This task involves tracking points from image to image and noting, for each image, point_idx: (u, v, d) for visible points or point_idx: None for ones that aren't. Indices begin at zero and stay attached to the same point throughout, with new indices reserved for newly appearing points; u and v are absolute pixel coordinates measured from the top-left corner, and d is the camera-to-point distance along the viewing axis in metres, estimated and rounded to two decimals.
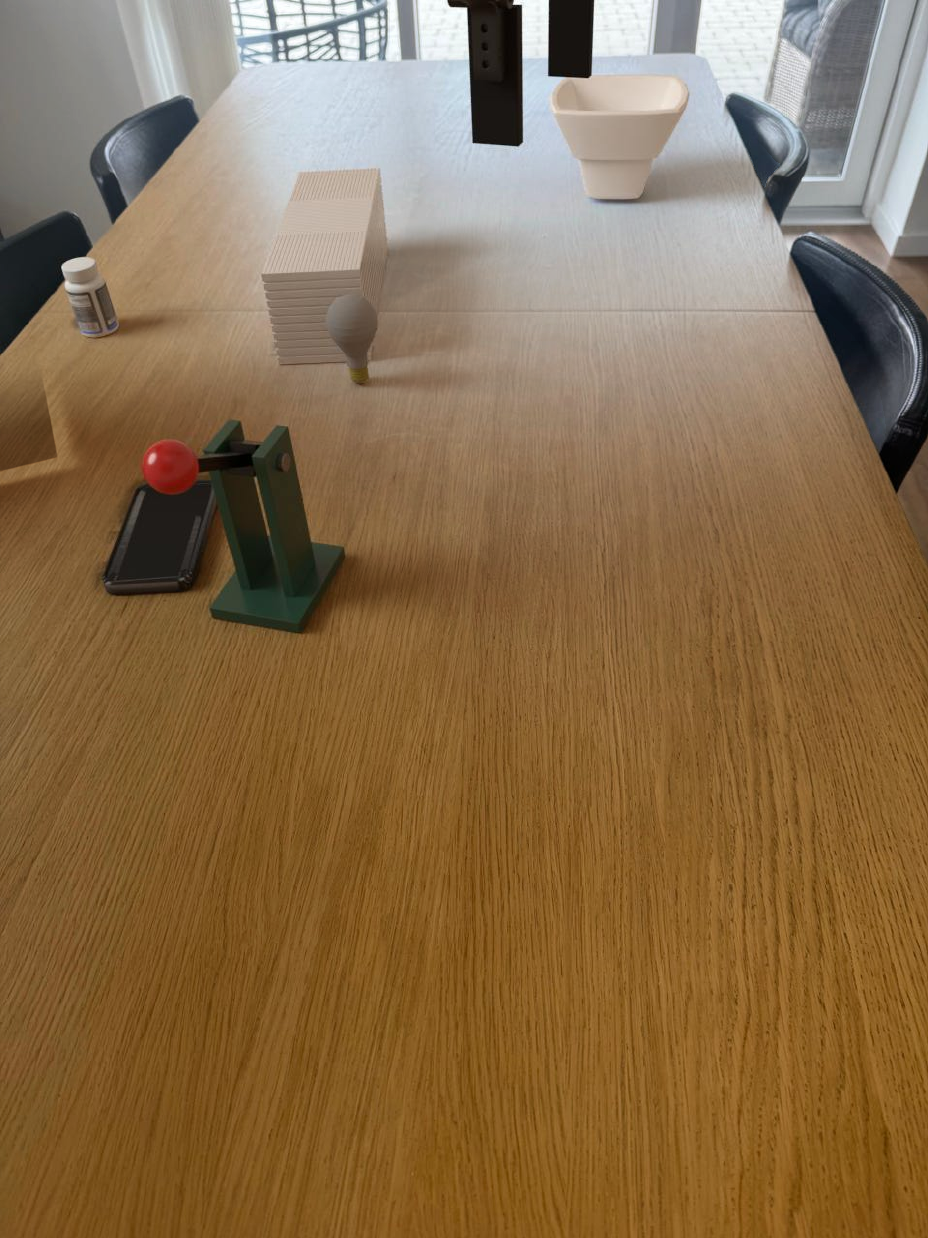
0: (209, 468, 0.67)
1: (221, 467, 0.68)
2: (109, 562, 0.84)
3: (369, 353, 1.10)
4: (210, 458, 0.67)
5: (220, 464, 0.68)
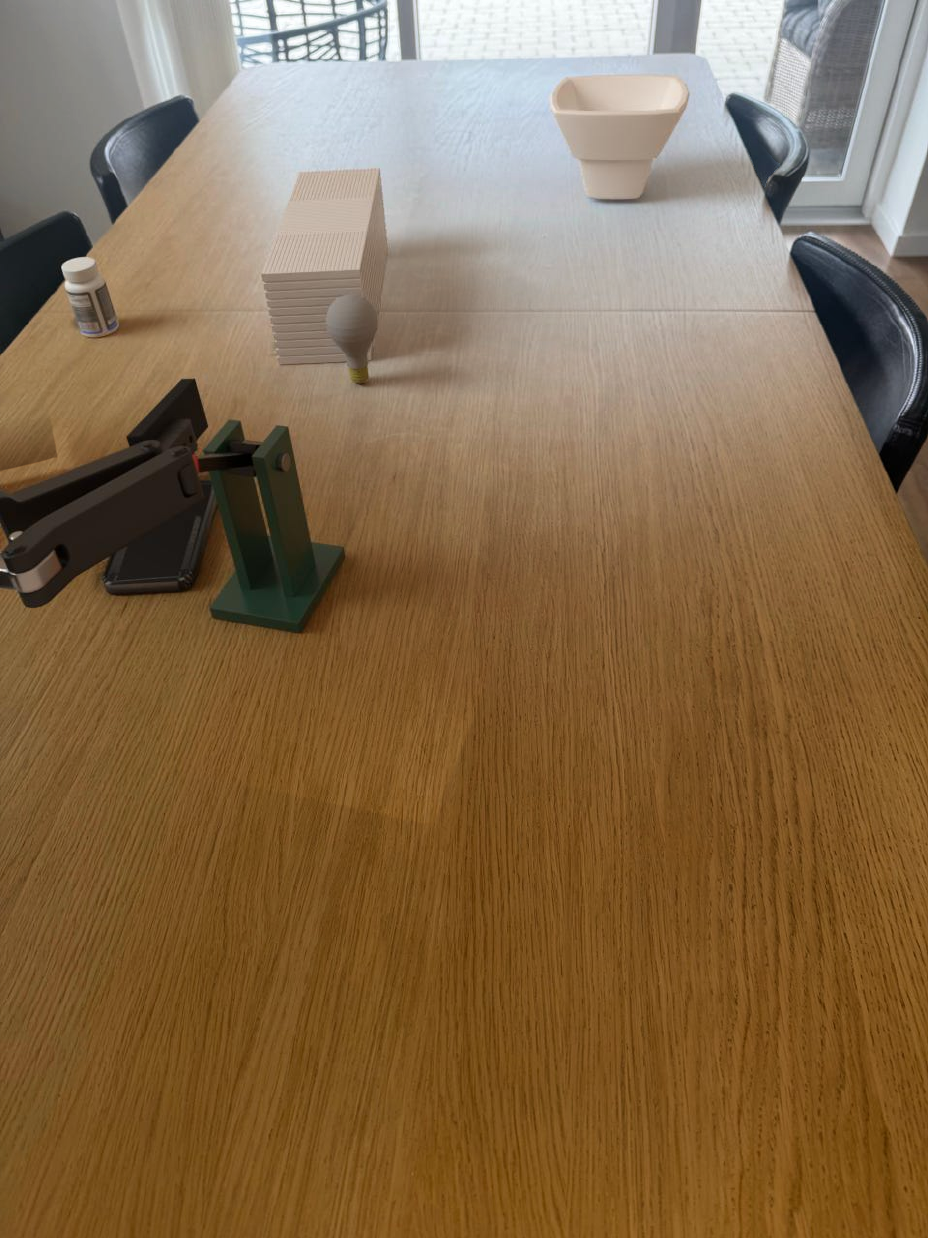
0: (209, 468, 0.67)
1: (221, 467, 0.68)
2: (109, 562, 0.84)
3: (369, 353, 1.10)
4: (210, 458, 0.67)
5: (220, 464, 0.68)
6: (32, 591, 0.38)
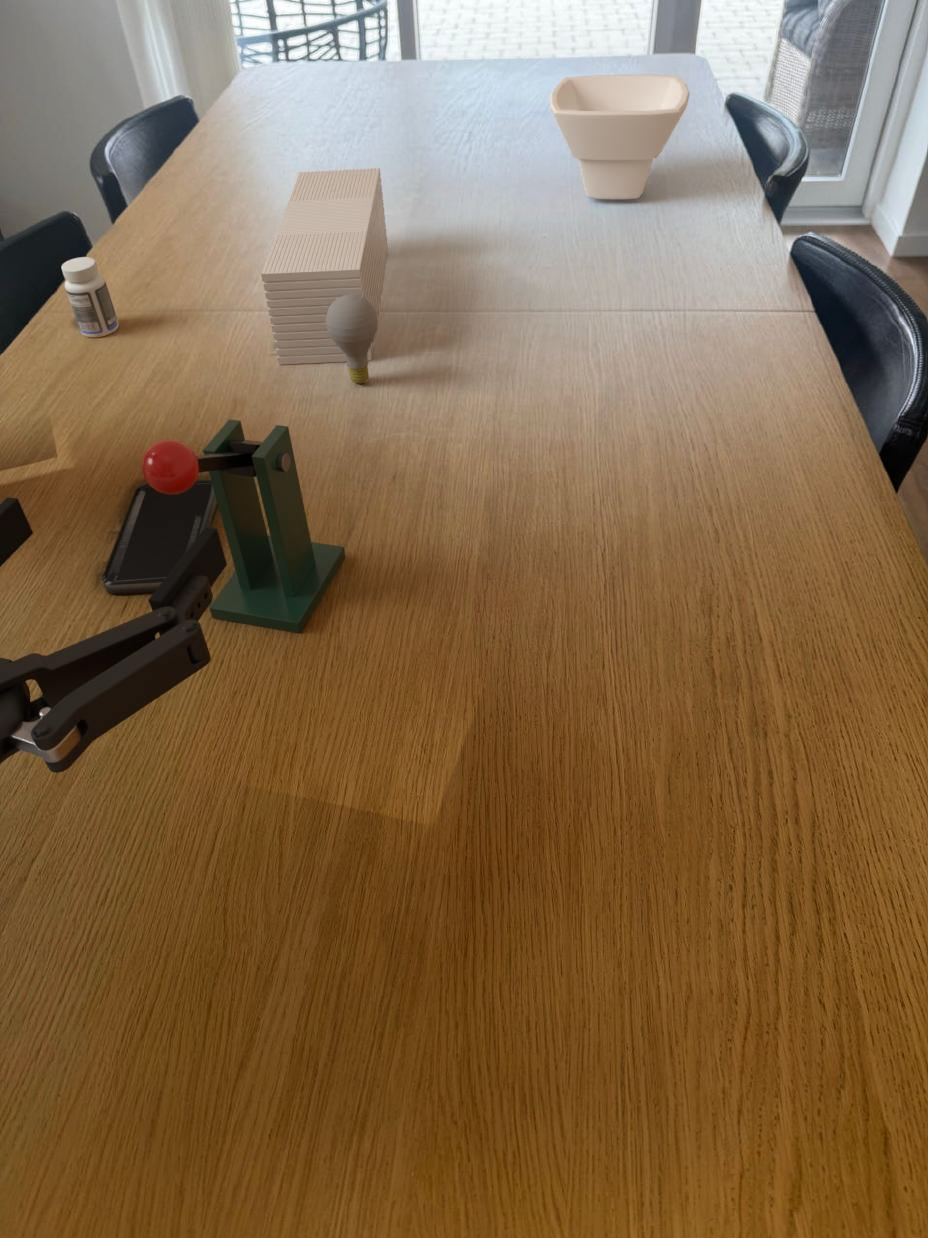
0: (209, 468, 0.67)
1: (221, 467, 0.68)
2: (109, 562, 0.84)
3: (369, 353, 1.10)
4: (210, 458, 0.67)
5: (220, 464, 0.68)
6: (55, 762, 0.46)
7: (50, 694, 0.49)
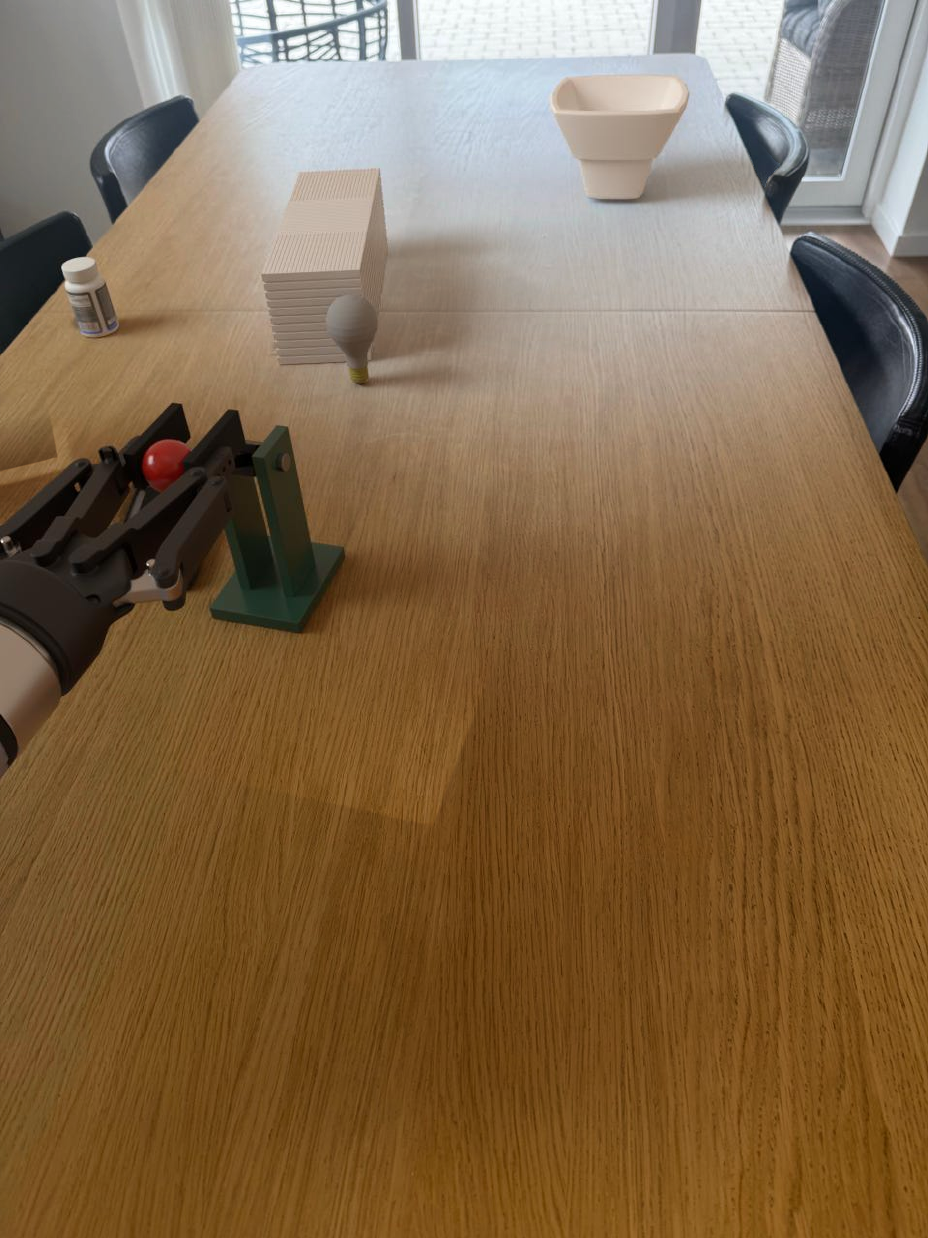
0: None
1: None
2: None
3: (369, 353, 1.10)
4: None
5: None
6: (176, 598, 0.54)
7: (138, 554, 0.57)
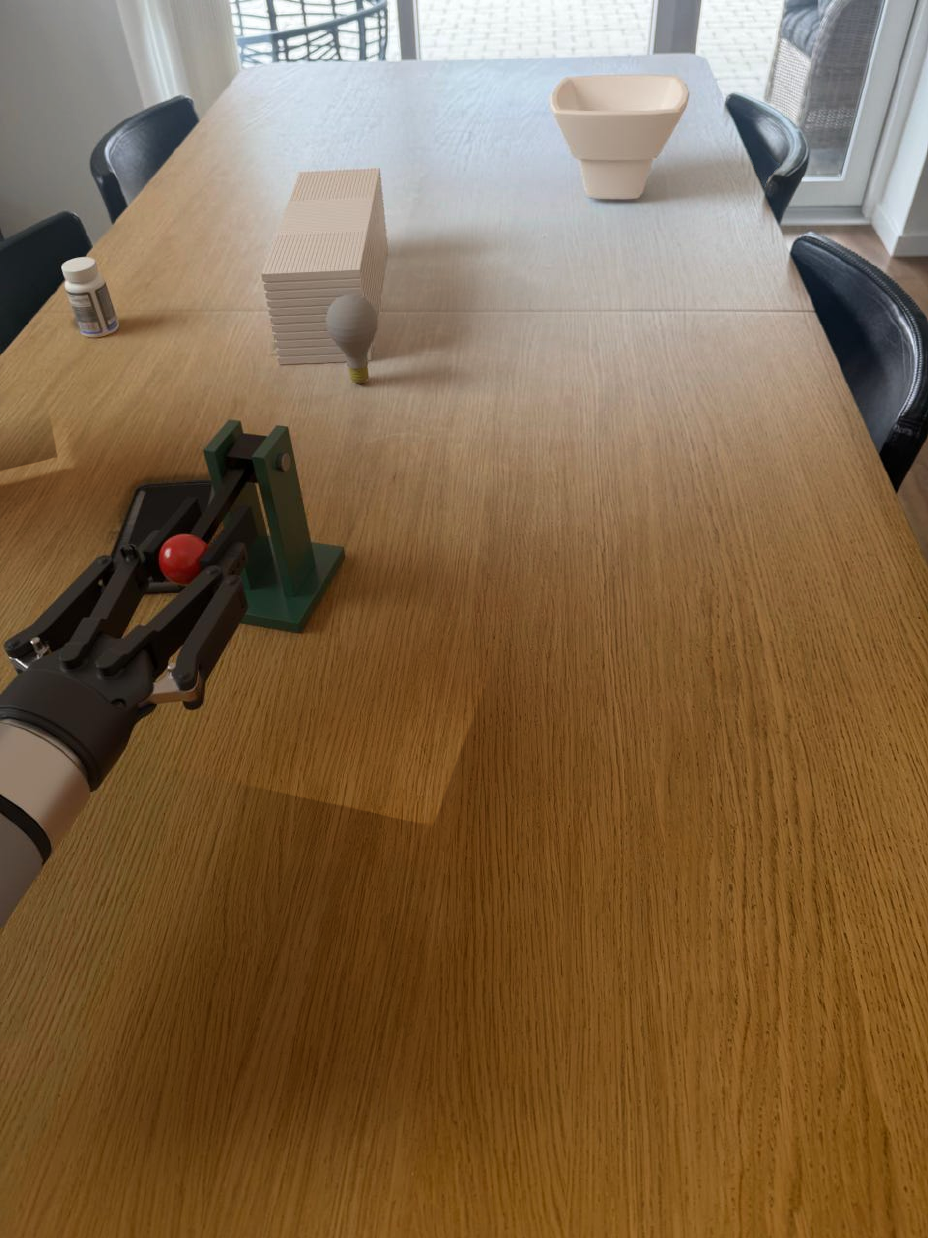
0: (218, 524, 0.69)
1: (228, 509, 0.70)
2: None
3: (369, 353, 1.10)
4: (216, 516, 0.69)
5: (226, 508, 0.70)
6: (196, 699, 0.58)
7: (159, 653, 0.61)
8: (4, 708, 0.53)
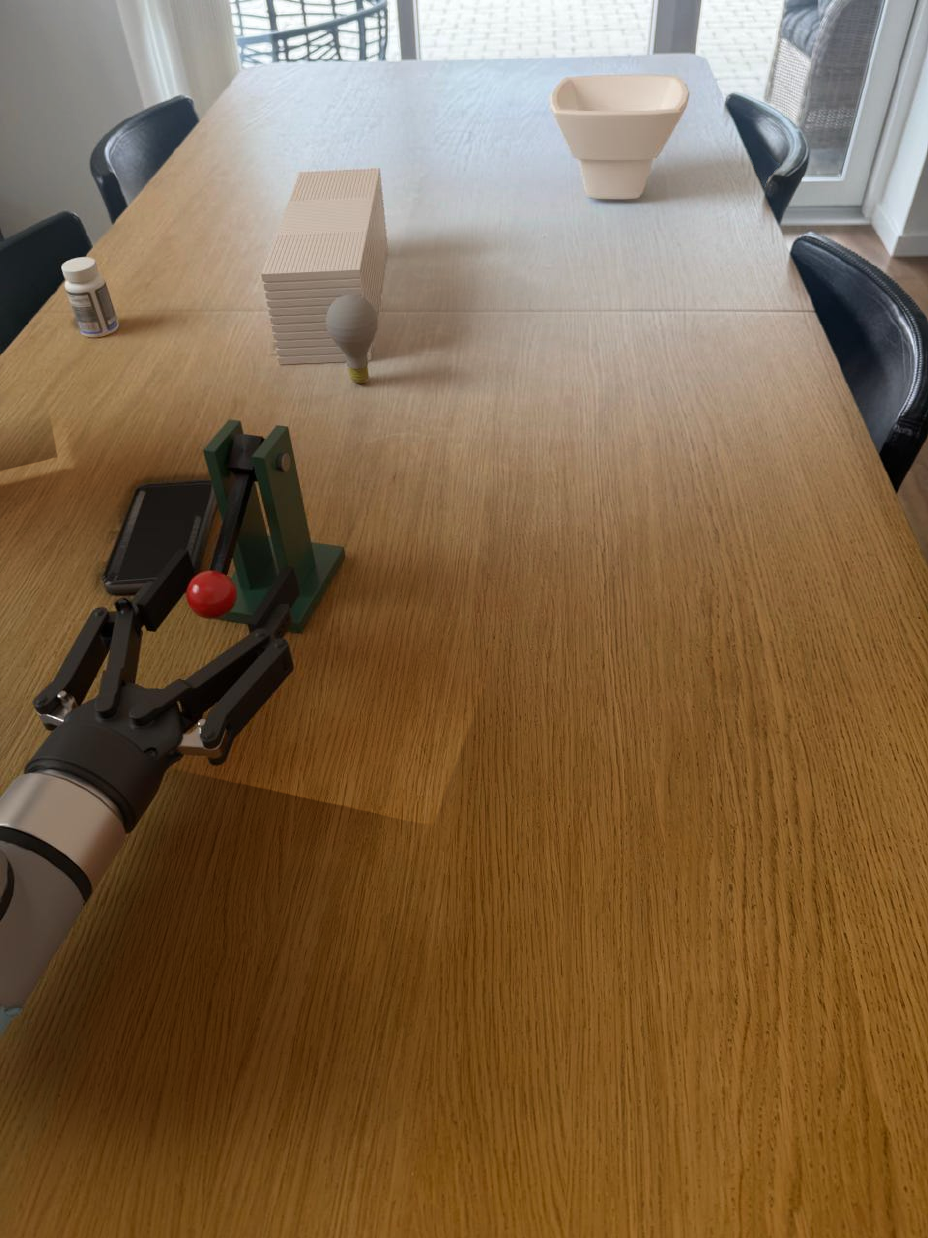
0: (234, 546, 0.72)
1: (240, 526, 0.72)
2: (109, 562, 0.84)
3: (369, 353, 1.10)
4: (230, 542, 0.71)
5: (238, 527, 0.72)
6: (218, 757, 0.62)
7: (194, 708, 0.65)
8: (47, 759, 0.57)
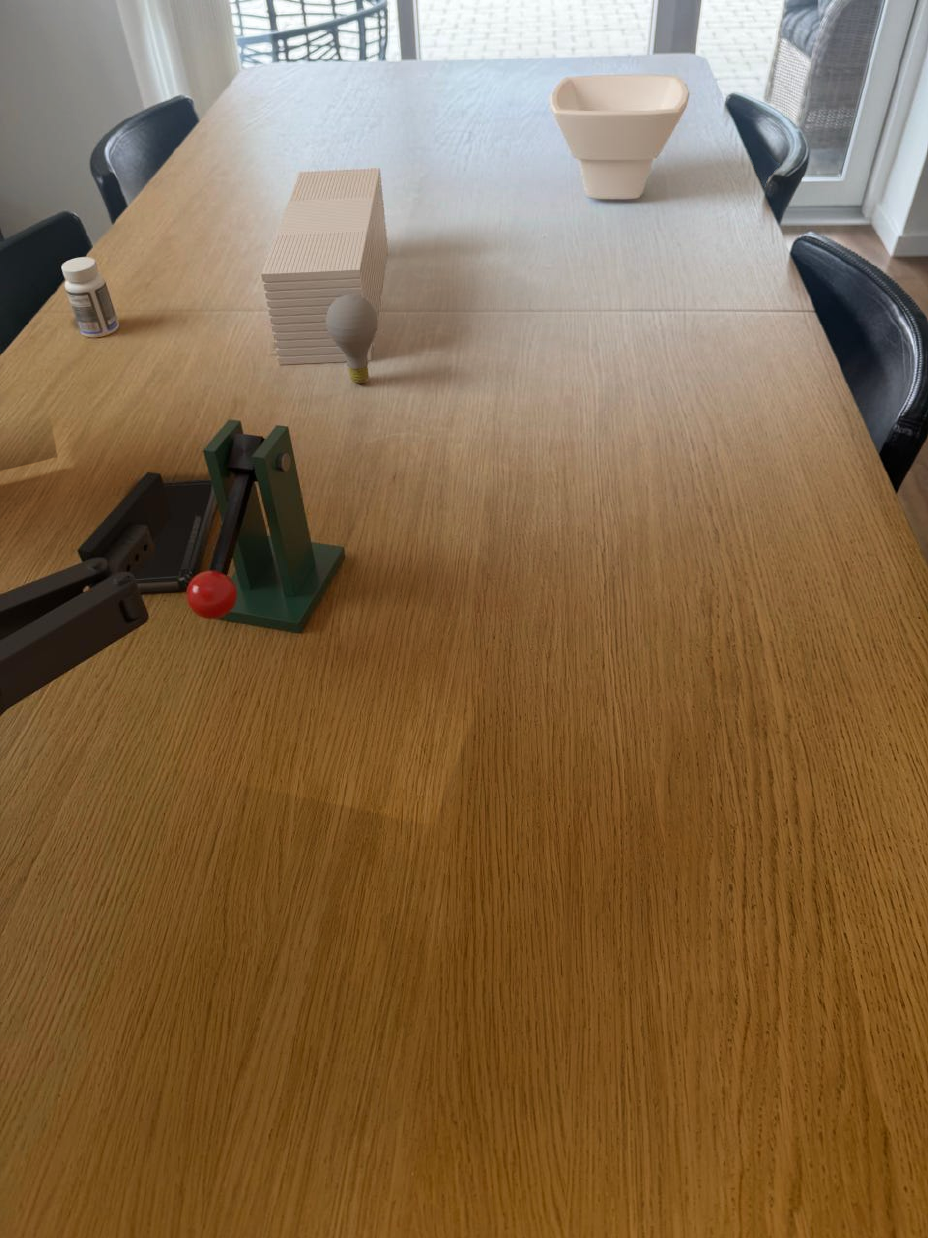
0: (234, 546, 0.72)
1: (240, 526, 0.72)
2: None
3: (369, 353, 1.10)
4: (230, 542, 0.71)
5: (238, 527, 0.72)
6: None
7: None
8: None
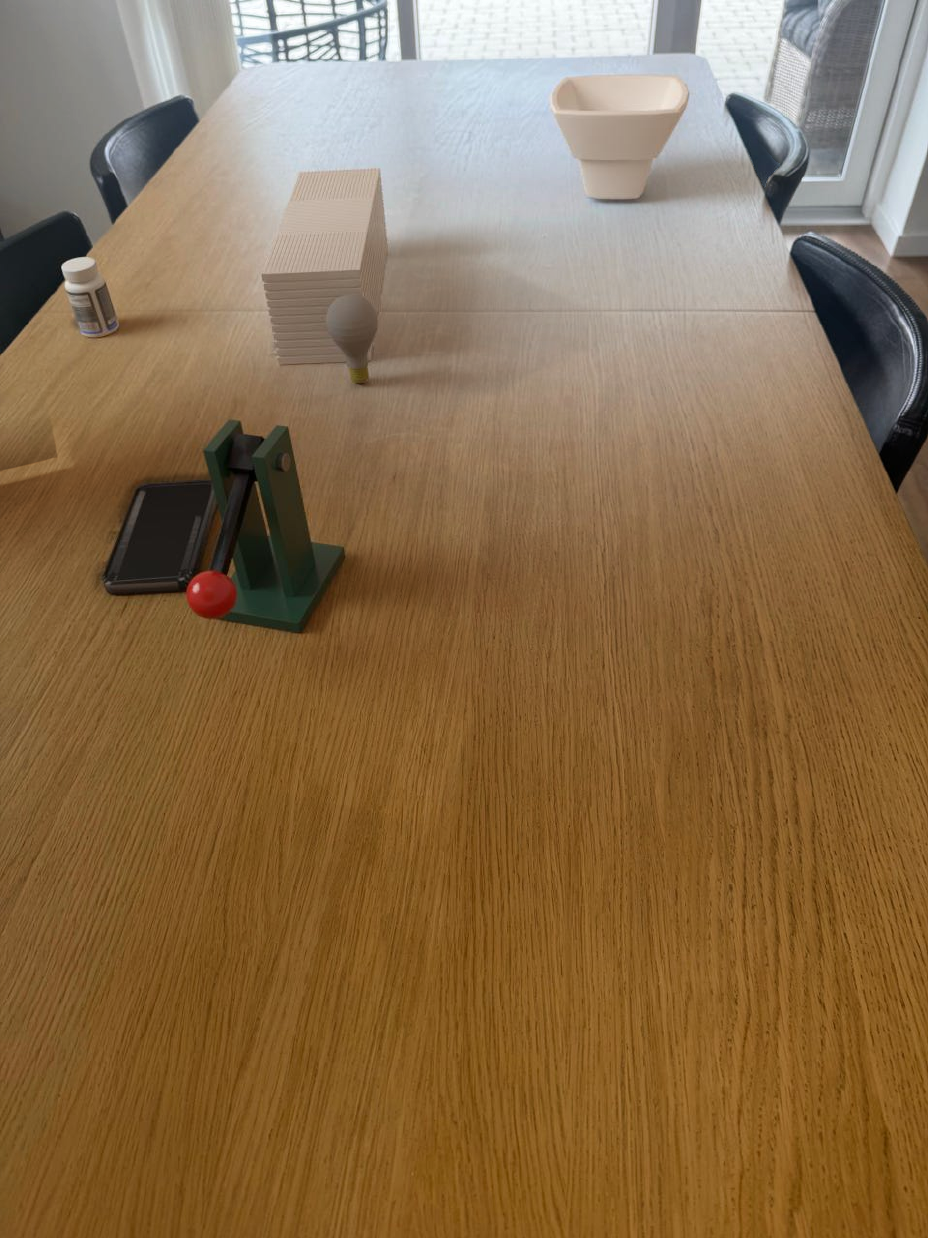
0: (234, 546, 0.72)
1: (240, 526, 0.72)
2: (109, 562, 0.84)
3: (369, 353, 1.10)
4: (230, 542, 0.71)
5: (238, 527, 0.72)
6: None
7: None
8: None
